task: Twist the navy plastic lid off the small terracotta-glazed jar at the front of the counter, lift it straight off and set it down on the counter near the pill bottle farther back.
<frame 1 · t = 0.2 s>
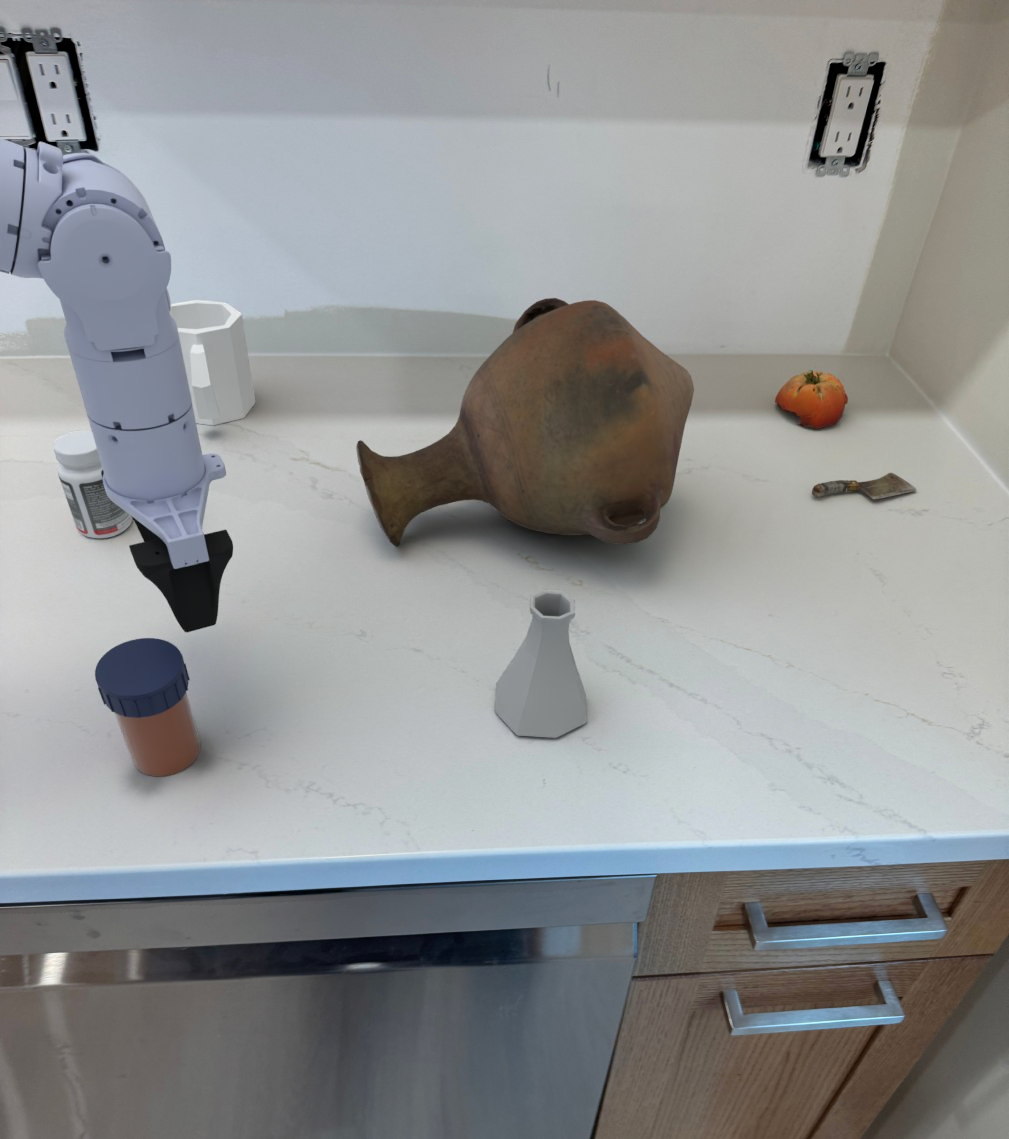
hand: (184, 591, 60), 9 cm above the counter, tool pointing down, fingers open, 7 cm apart
meat cleaver: (860, 490, 92), on the counter
mug: (215, 416, 95), on the counter
flask: (540, 707, 67), on the counter
lid: (140, 669, 57), point 8 cm above the counter, screwed on, not yet turned
tomato: (806, 414, 103), on the counter
pill bottle: (105, 526, 80), on the counter
jug: (519, 521, 85), on the counter
jar: (166, 750, 62), on the counter
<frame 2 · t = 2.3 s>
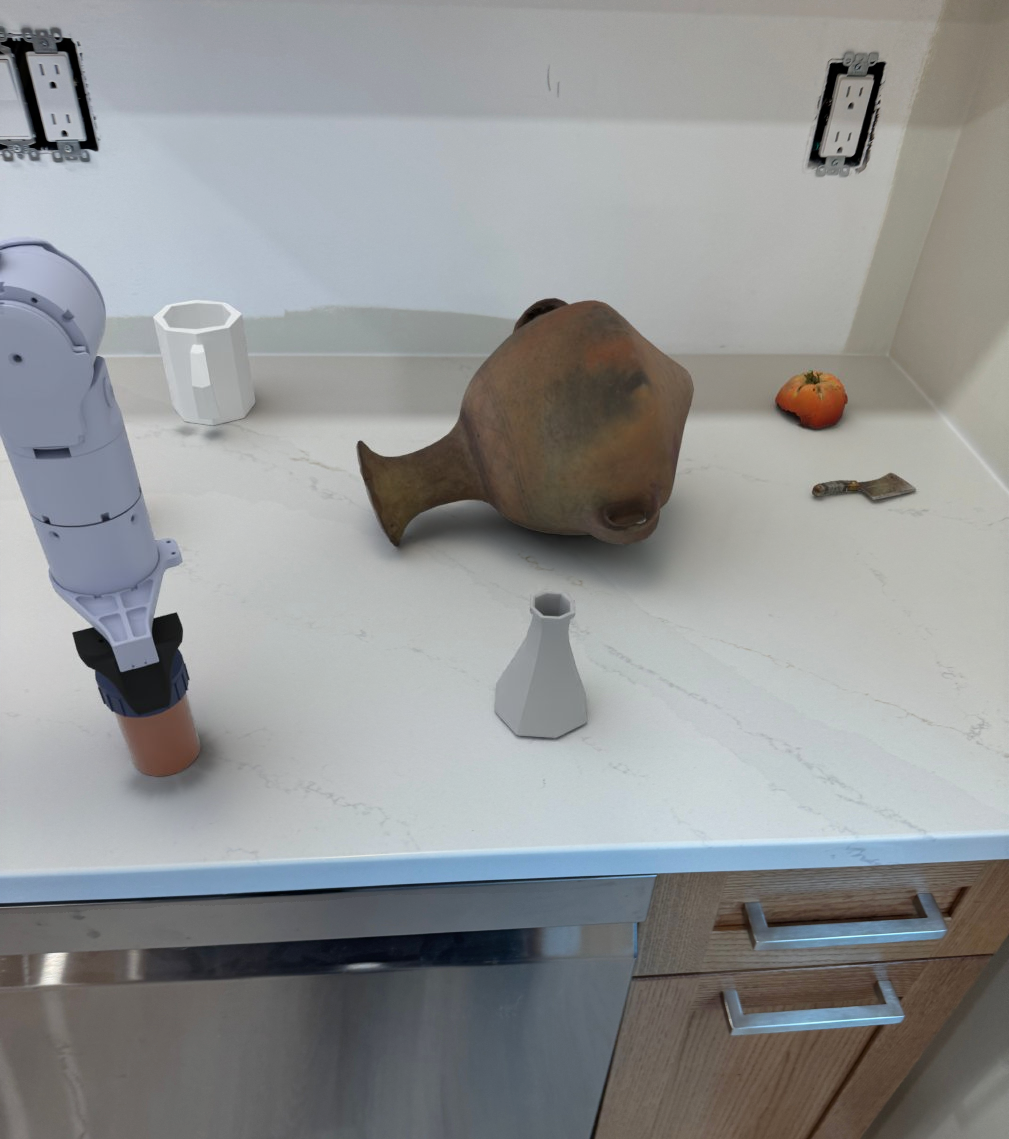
hand: (143, 677, 57), 7 cm above the counter, tool pointing down, fingers closed on lid, 5 cm apart
lid: (140, 669, 57), point 8 cm above the counter, screwed on, not yet turned, touching gripper
everything else where it was.
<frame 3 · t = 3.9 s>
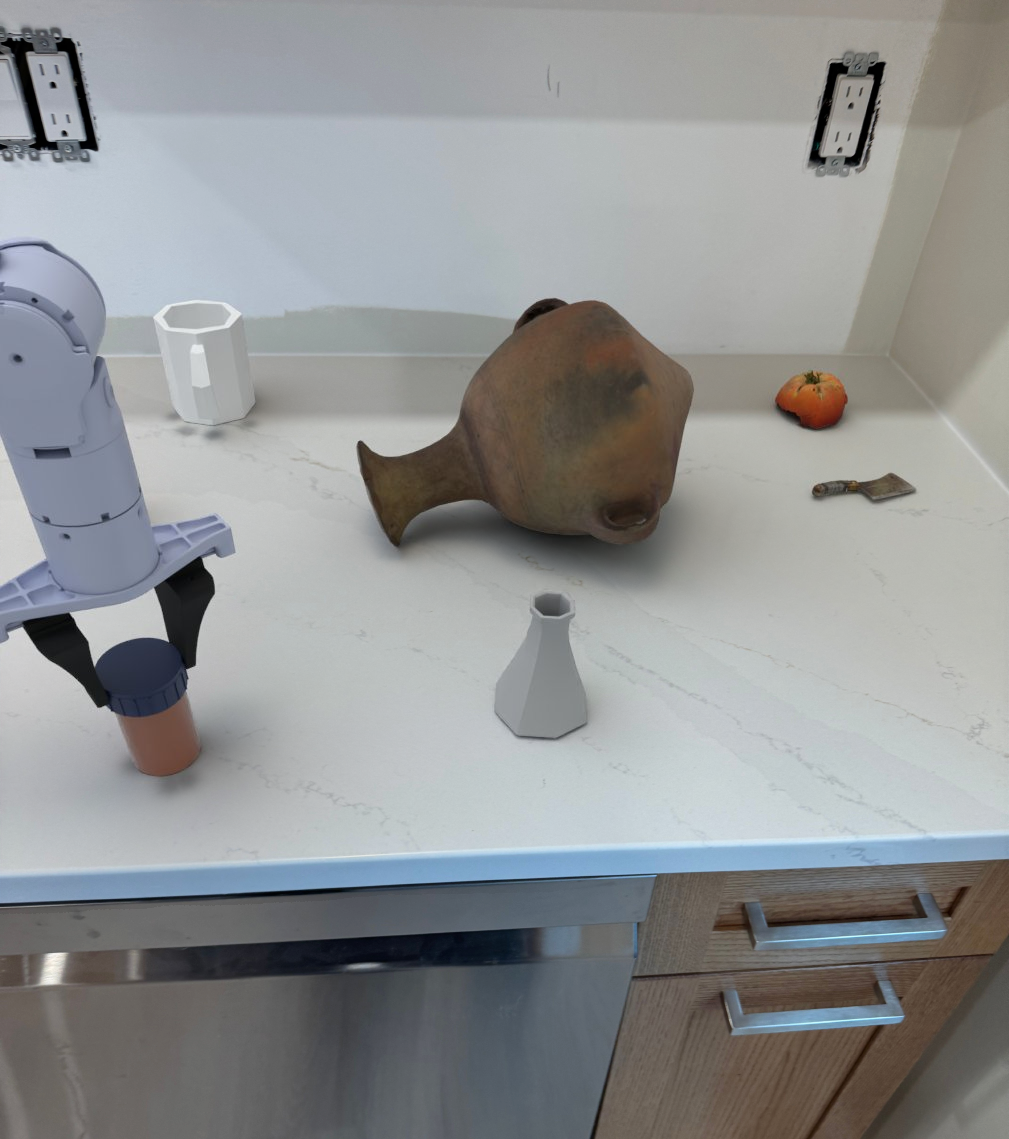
hand: (142, 677, 57), 7 cm above the counter, tool pointing down, fingers closed on lid, 5 cm apart
lid: (139, 669, 57), point 8 cm above the counter, off its thread, touching gripper
everything else where it was.
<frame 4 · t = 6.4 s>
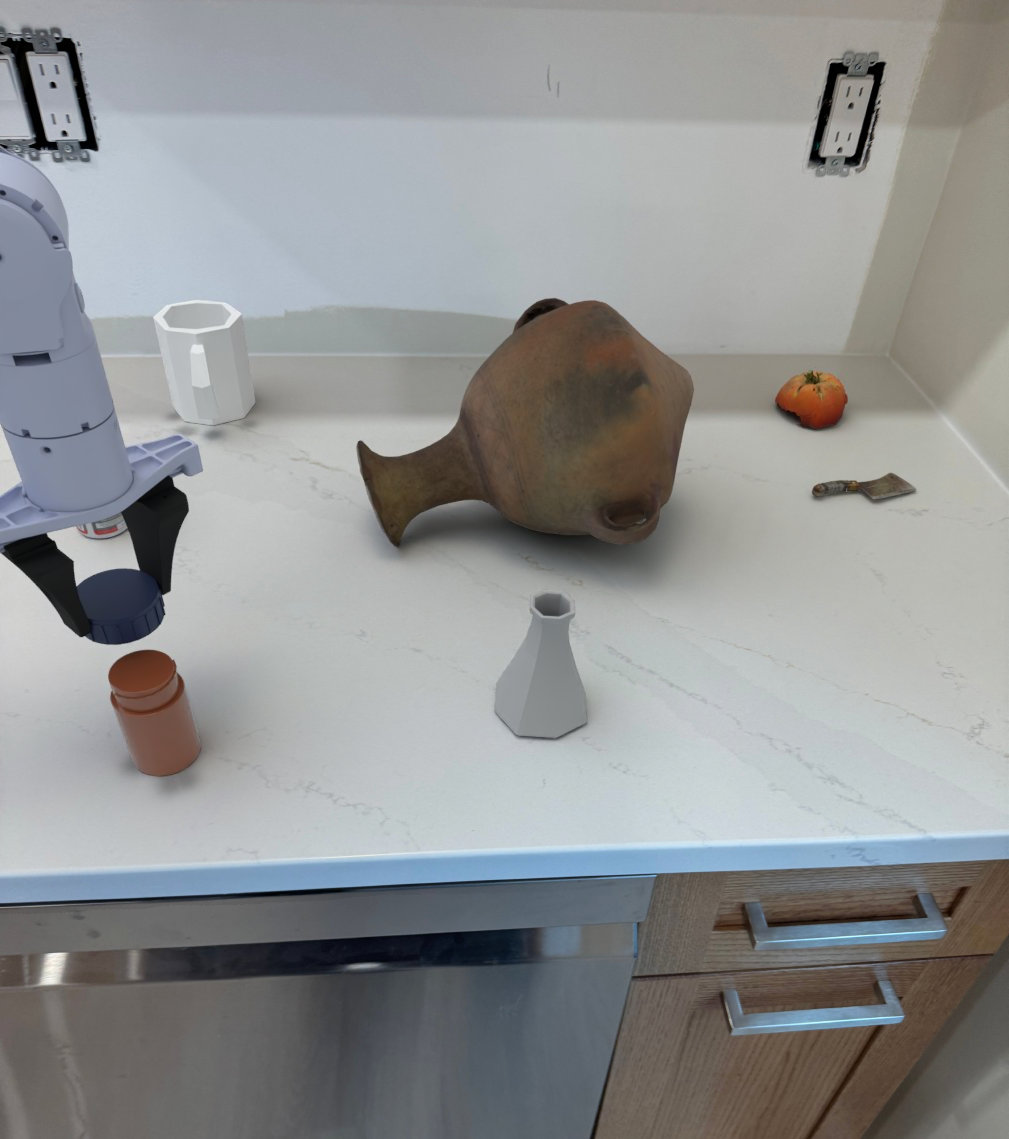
hand: (119, 606, 57), 10 cm above the counter, tool pointing down, fingers closed on lid, 5 cm apart
lid: (116, 597, 57), point 11 cm above the counter, off its thread, touching gripper
everything else where it was.
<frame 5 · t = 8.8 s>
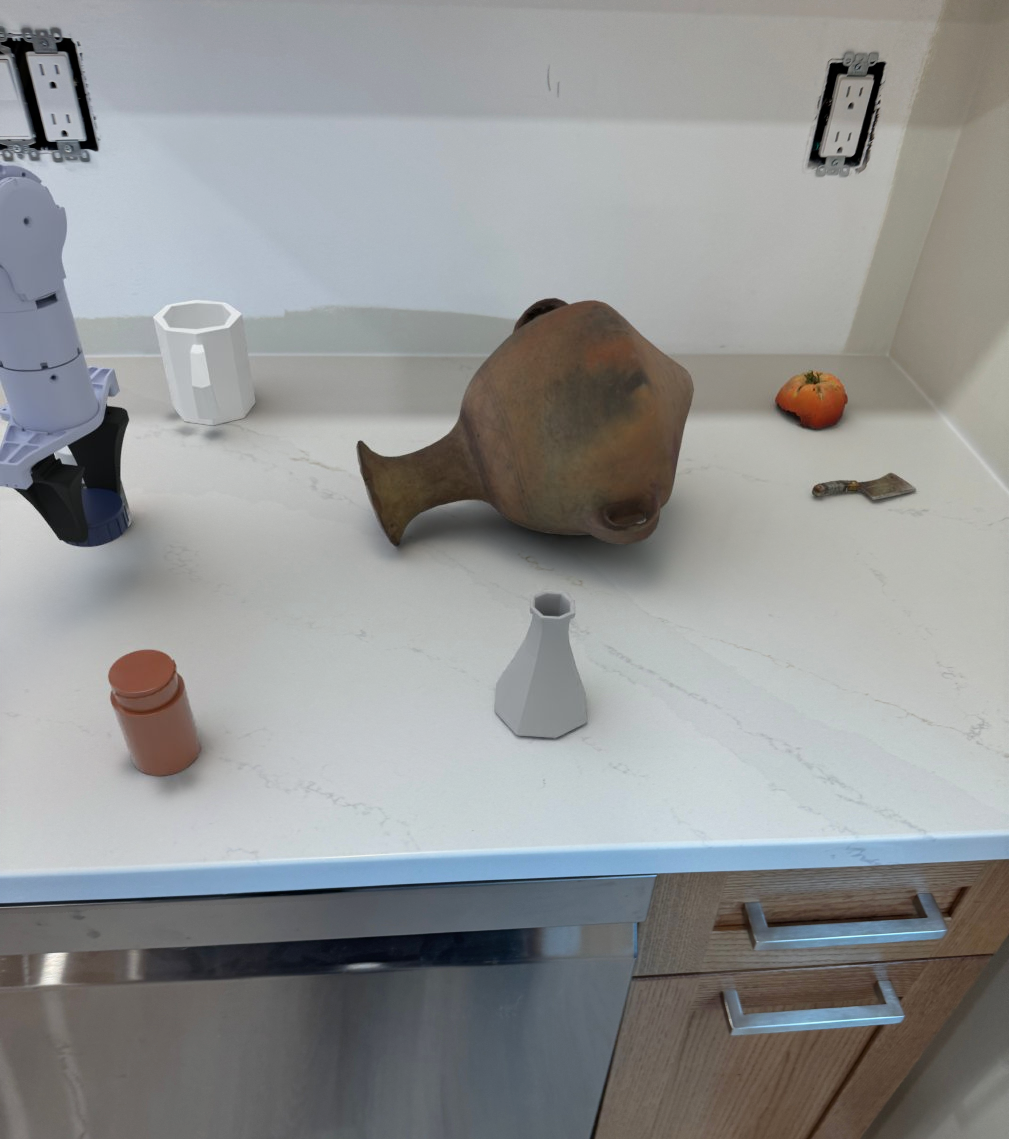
hand: (90, 517, 71), 6 cm above the counter, tool pointing down, fingers closed on lid, 5 cm apart
lid: (88, 510, 70), point 7 cm above the counter, off its thread, touching gripper
everything else where it was.
when the fingers open (1 cm above the counter, at t = 10.7 s): lid stays where it is, point 2 cm above the counter.
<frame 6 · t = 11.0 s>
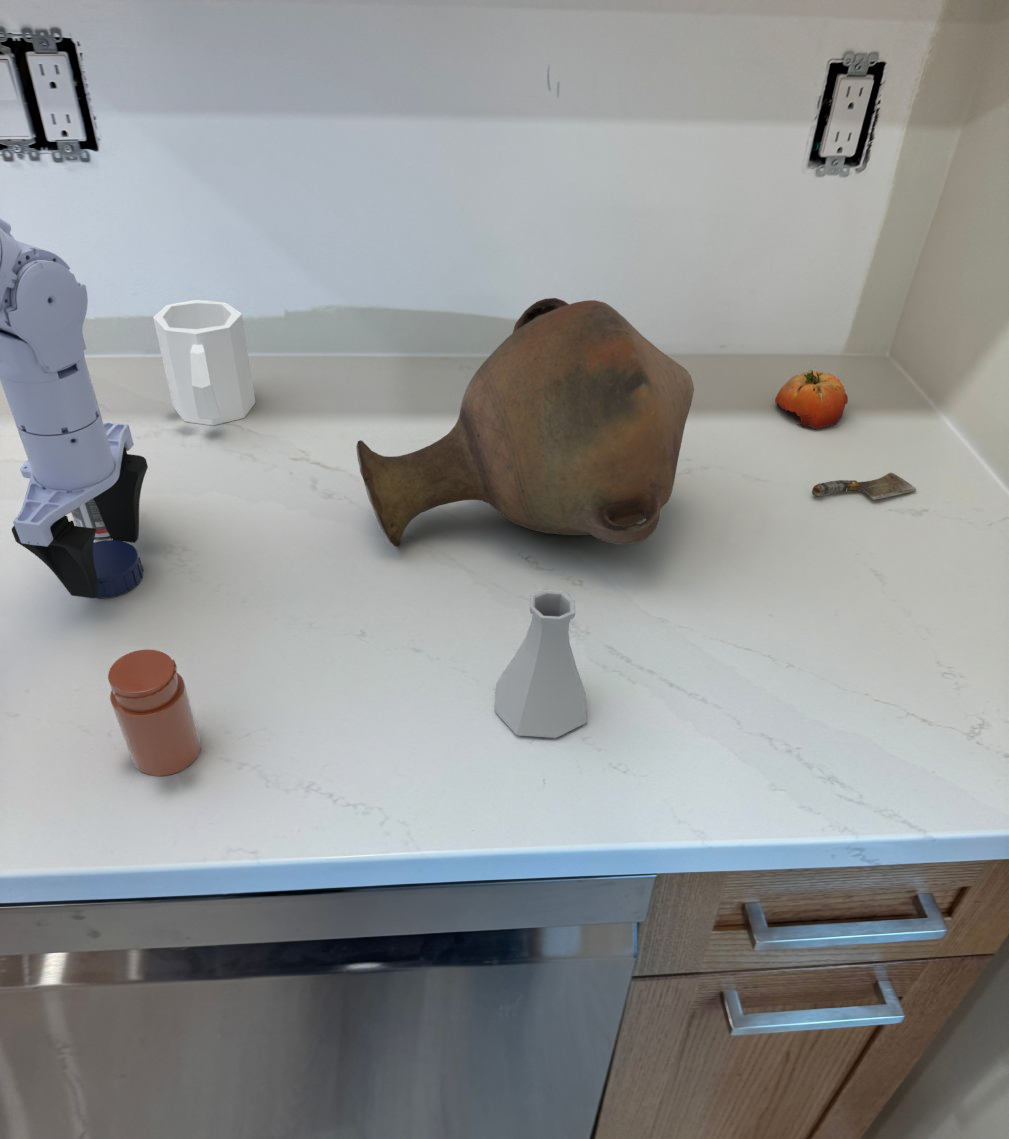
hand: (105, 565, 74), 1 cm above the counter, tool pointing down, fingers open, 7 cm apart
lid: (105, 562, 74), point 2 cm above the counter, off its thread
everything else where it was.
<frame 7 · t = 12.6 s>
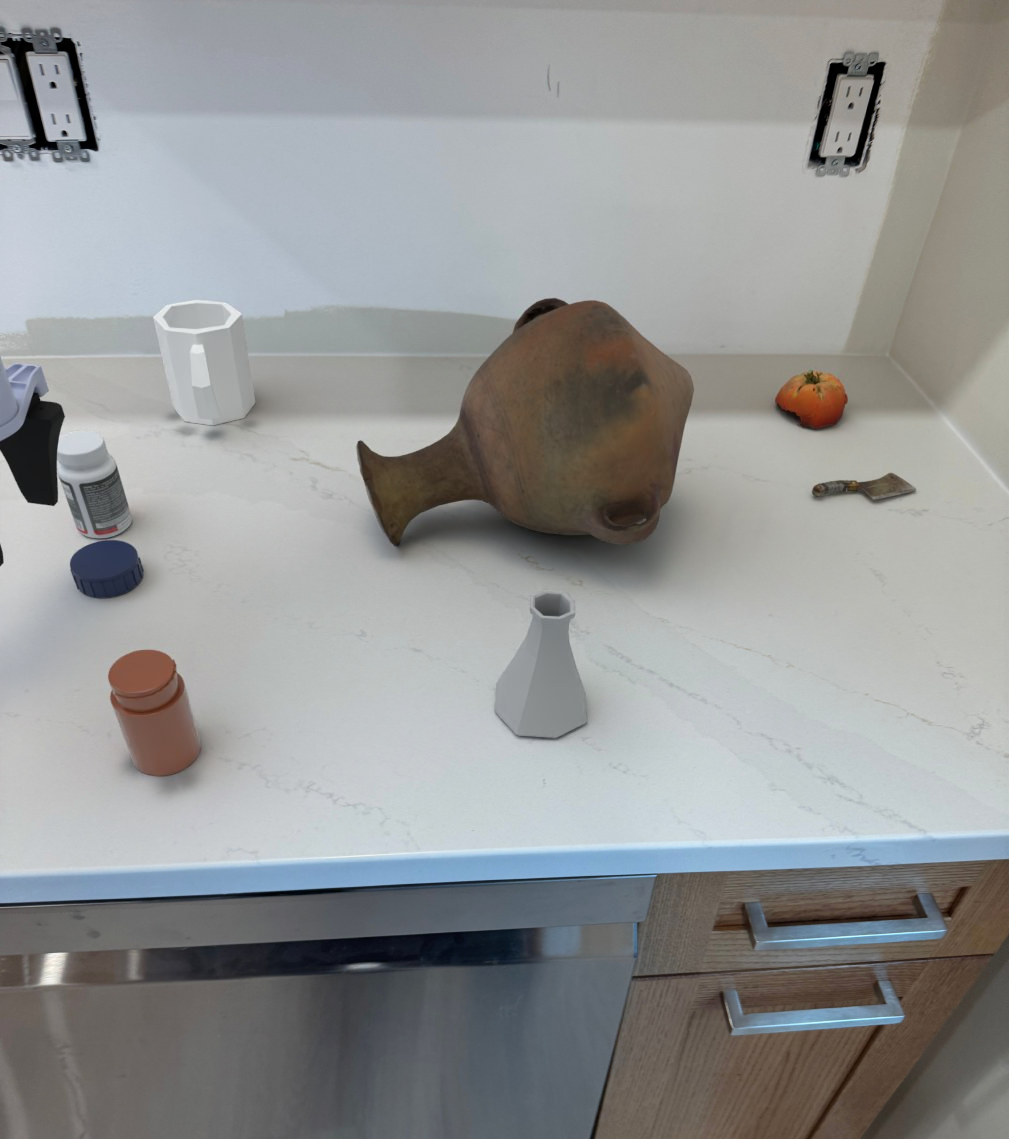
hand: (16, 531, 64), 9 cm above the counter, tool pointing down, fingers open, 7 cm apart
nothing on the counter moved.
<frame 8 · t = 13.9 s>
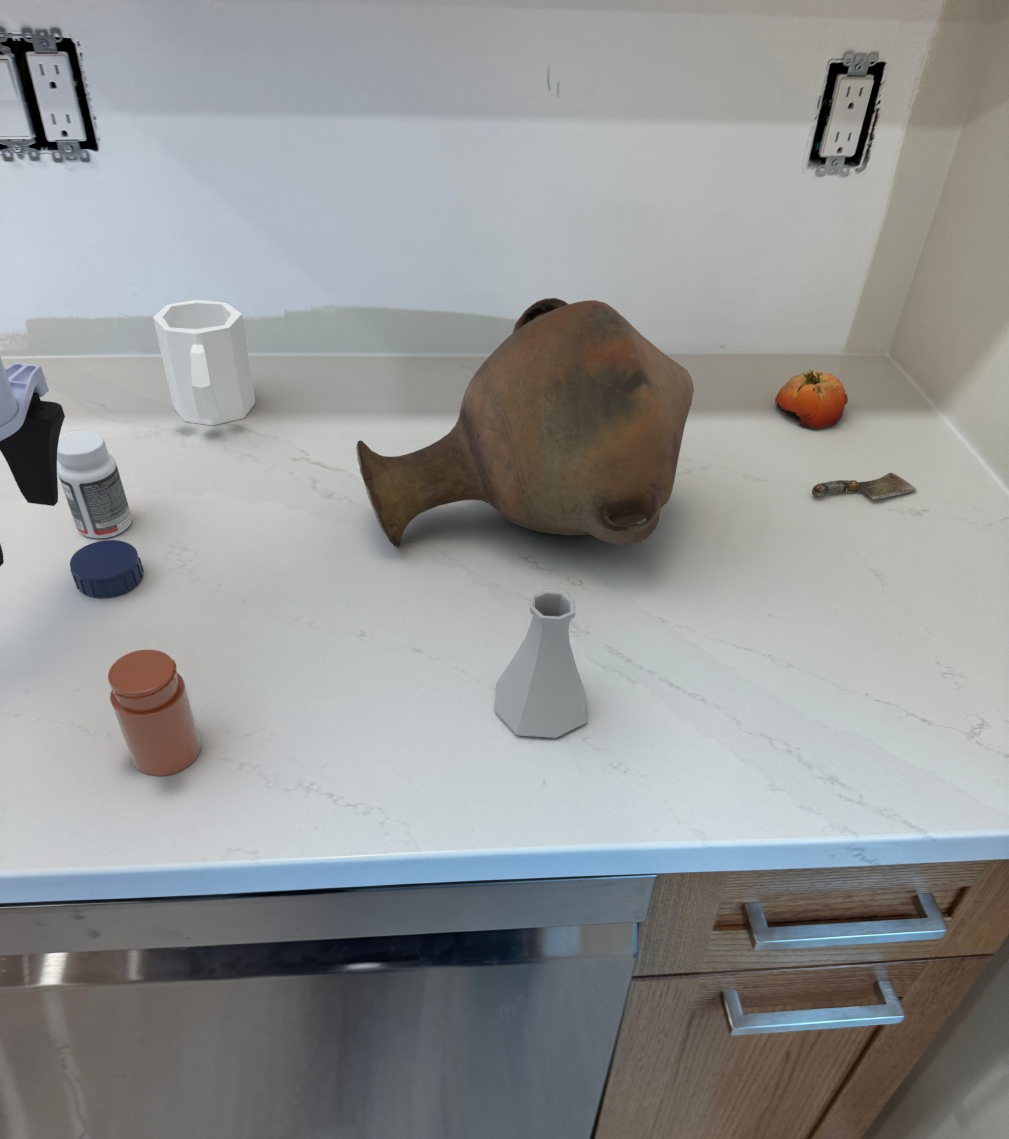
hand: (16, 531, 64), 9 cm above the counter, tool pointing down, fingers open, 7 cm apart
nothing on the counter moved.
at the end: the gripper is holding nothing; lid point 1.7 cm above the counter; lid 8.1 cm from the pill bottle (horizontally) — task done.
